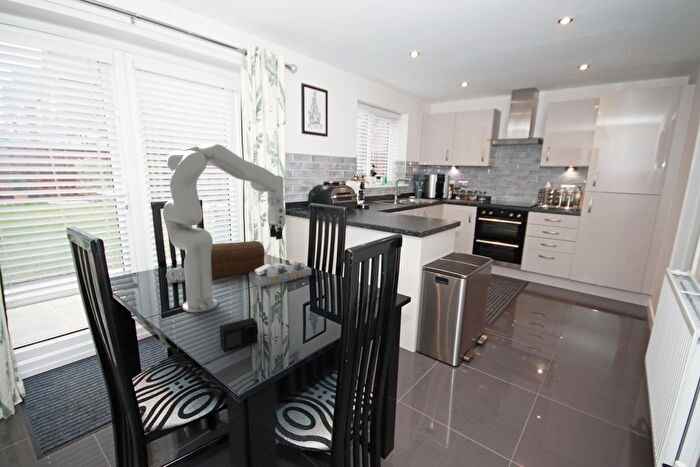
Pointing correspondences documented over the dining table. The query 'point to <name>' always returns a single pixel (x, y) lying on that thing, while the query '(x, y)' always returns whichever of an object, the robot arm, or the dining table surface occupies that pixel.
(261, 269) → the rocker near
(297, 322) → the dining table surface
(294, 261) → the rocker far
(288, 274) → the console
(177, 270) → the pendant light
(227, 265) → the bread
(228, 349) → the digital camera
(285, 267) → the rocker mid
